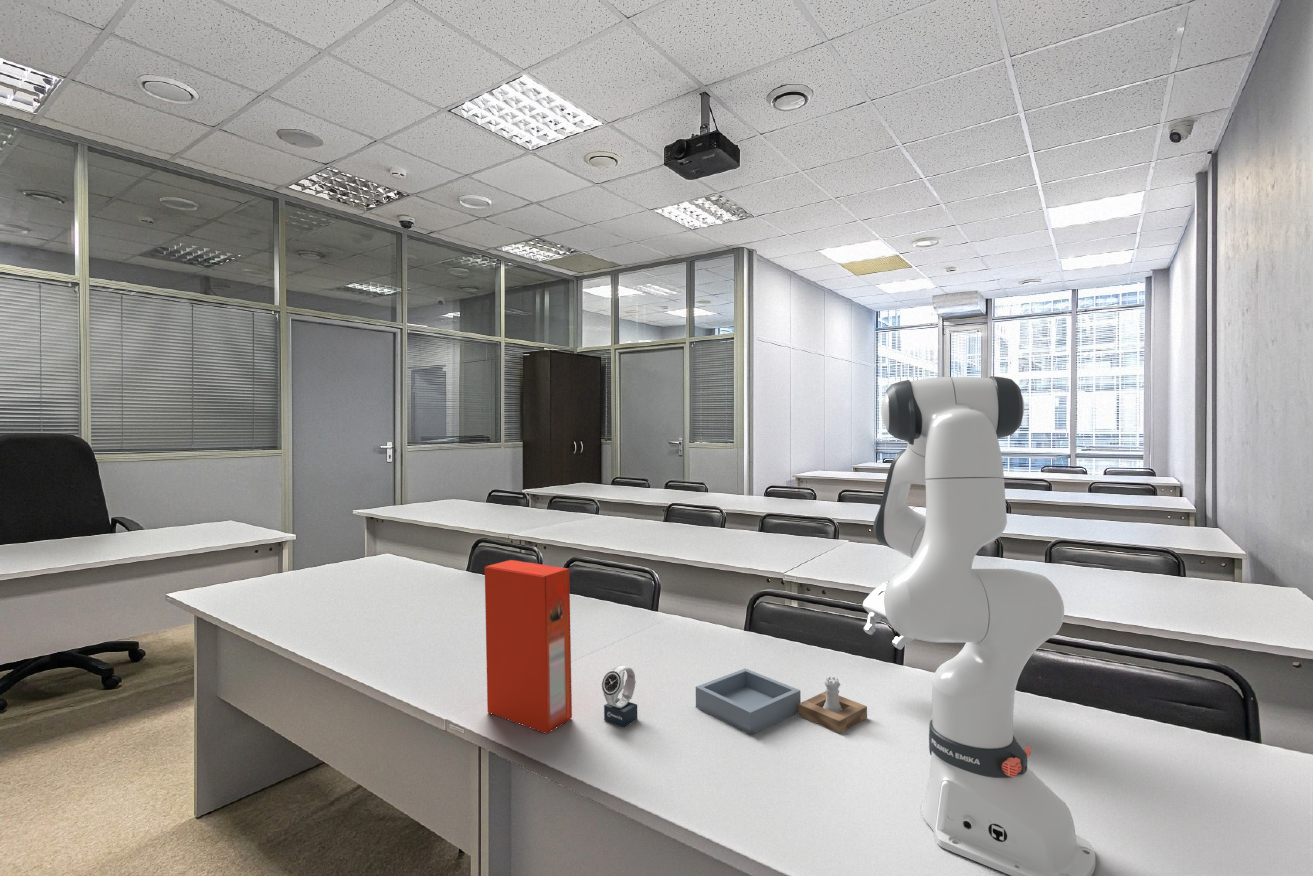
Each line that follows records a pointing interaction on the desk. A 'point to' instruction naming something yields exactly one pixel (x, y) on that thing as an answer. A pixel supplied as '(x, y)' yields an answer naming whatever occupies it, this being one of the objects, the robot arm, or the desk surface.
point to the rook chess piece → (832, 695)
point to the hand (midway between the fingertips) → (880, 639)
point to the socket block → (829, 719)
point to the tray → (748, 700)
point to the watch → (615, 707)
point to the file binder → (528, 643)
